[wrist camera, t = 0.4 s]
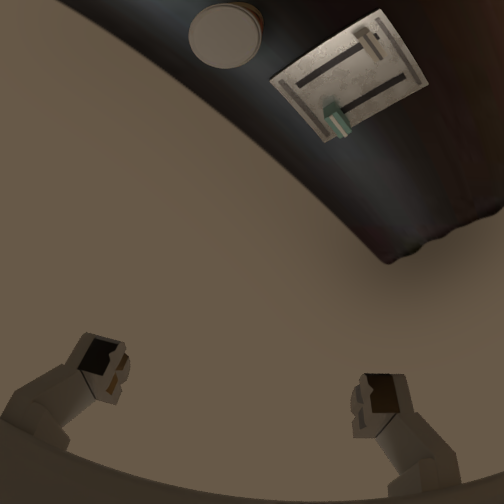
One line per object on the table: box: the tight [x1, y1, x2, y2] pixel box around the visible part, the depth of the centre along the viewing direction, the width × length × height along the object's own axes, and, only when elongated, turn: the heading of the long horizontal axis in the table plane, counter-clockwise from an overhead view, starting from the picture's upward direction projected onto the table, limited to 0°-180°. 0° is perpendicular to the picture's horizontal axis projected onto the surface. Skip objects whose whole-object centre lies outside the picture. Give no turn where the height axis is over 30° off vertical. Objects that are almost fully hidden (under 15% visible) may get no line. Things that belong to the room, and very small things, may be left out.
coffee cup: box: [189, 2, 264, 69], centre depth 37 cm, size 9×9×12 cm
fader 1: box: [323, 102, 352, 138], centre depth 48 cm, size 2×4×4 cm, turn 43°
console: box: [269, 8, 429, 143], centre depth 45 cm, size 22×15×2 cm
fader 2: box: [354, 27, 388, 62], centre depth 37 cm, size 2×4×4 cm, turn 43°
